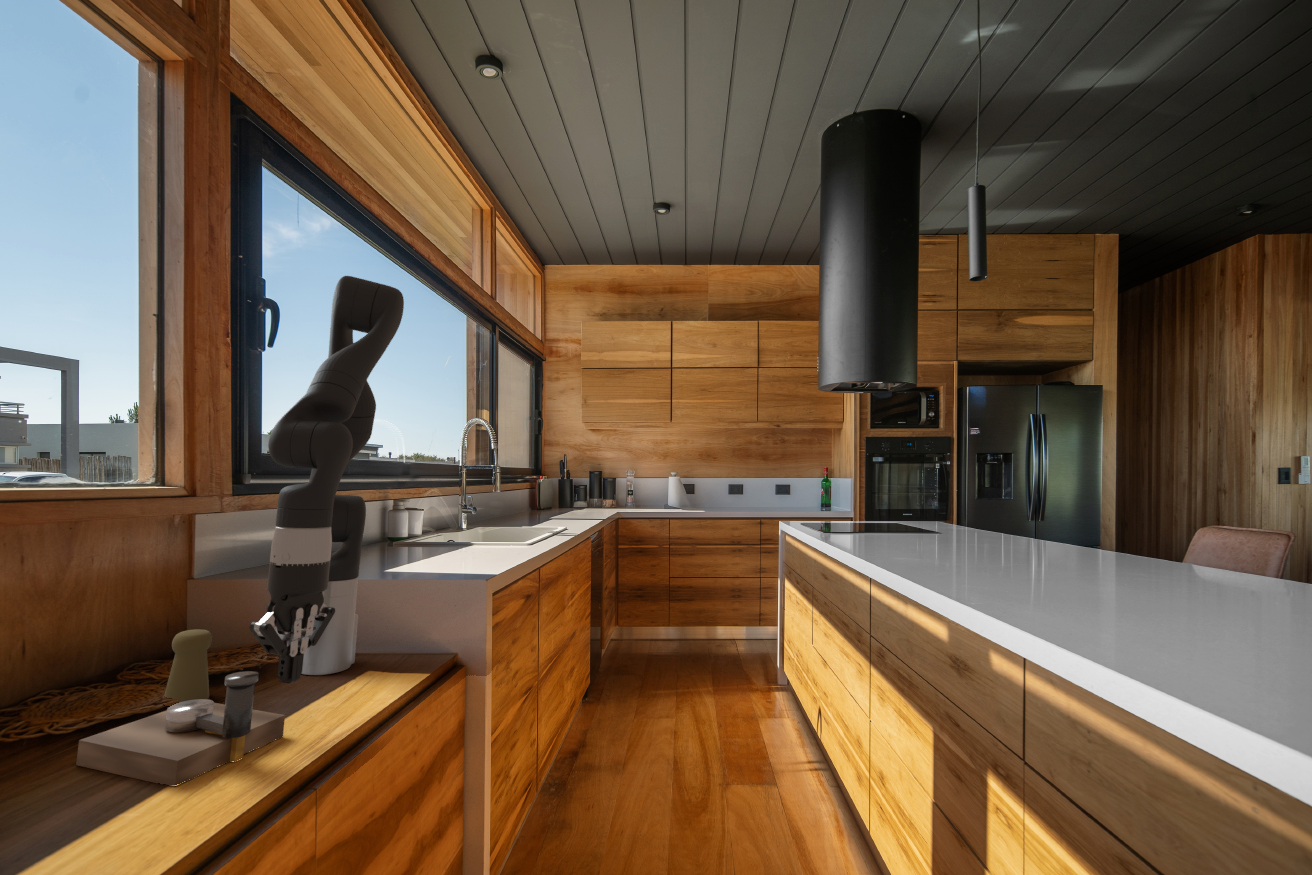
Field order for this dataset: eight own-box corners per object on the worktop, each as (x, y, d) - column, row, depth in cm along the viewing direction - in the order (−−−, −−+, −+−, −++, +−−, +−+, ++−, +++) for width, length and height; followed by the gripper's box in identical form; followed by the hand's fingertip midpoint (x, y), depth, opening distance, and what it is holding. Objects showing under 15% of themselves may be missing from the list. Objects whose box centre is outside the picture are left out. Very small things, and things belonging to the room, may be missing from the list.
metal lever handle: (155, 727, 78) (162, 667, 79) (196, 714, 83) (202, 657, 83) (225, 747, 74) (232, 683, 74) (264, 732, 78) (270, 672, 79)
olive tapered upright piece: (183, 708, 93) (190, 636, 93) (151, 704, 94) (159, 632, 95) (218, 695, 98) (225, 628, 99) (188, 691, 100) (196, 624, 101)
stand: (195, 720, 89) (197, 698, 89) (287, 737, 84) (289, 714, 85) (76, 764, 74) (79, 738, 74) (179, 788, 70) (182, 759, 70)
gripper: (316, 551, 93) (305, 664, 92) (238, 561, 80) (224, 692, 79) (356, 555, 91) (346, 671, 90) (282, 565, 78) (269, 701, 77)
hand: (289, 681), depth 85 cm, fingers closed
